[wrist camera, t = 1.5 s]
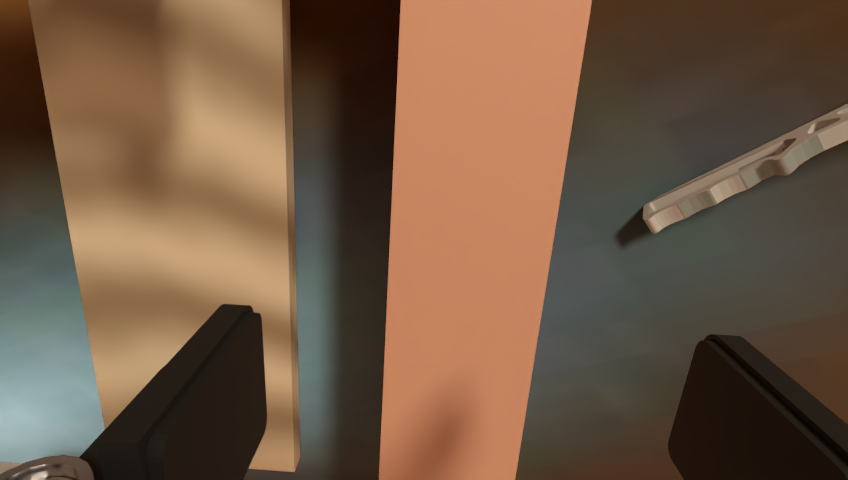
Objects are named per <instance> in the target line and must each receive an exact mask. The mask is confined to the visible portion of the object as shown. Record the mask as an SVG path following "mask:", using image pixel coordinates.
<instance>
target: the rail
mask: <svg viewBox="0 0 848 480" xmlns="http://www.w3.org/2000/svg"><path fill="white" fill-rule="evenodd" d="M591 3H592V0H401V7H400V29H399V51H398V72H397V94H396V116H395V138H394V160H393V182H392V204H391V226H390V247H389V269H388V291H387V313H386V335H385V357H384V379H383V401H382V422H381V444H380V466H379V480H515V476H516V470H517V464H518V458H519V451H520V445H521V439H522V433H523V426H524V420H525V414H526V408H527V402H528V395H529V389H530V383H531V377H532V370H533V364H534V358H535V352H536V345H537V339H538V333H539V327H540V321H541V314H542V308H543V302H544V296H545V289H546V283H547V277H548V271H549V265H550V258H551V252H552V246H553V240H554V233H555V227H556V221H557V215H558V209H559V202H560V196H561V190H562V184H563V177H564V171H565V165H566V159H567V153H568V146H569V140H570V134H571V128H572V121H573V115H574V109H575V103H576V97H577V90H578V84H579V78H580V72H581V65H582V59H583V53H584V47H585V40H586V34H587V28H588V22H589V16H590V9H591Z"/></svg>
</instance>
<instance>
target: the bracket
mask: <svg viewBox="0 0 848 480" xmlns="http://www.w3.org/2000/svg"><path fill="white" fill-rule="evenodd" d="M847 140H848V104H846V105H844V106H842V107H840V108H838V109H836V110H834V111H832V112H830V113H828V114H826V115H823V116H821V117H819V118H817V119H815V120H813V121H811V122H809V123H807V124H805V125H803V126H801V127H799V128H797V129H795V130H793V131H791V132H789V133H787V134H785V135H783V136H781V137H779V138H777V139H774V140H772V141H770V142H768V143H766V144H764V145H762V146H760V147H758V148H756V149H754V150H752V151H750V152H748V153H746V154H744V155H742V156H740V157H738V158H736V159H734V160H732V161H730V162H727V163H725V164H723V165H721V166H719V167H717V168H715V169H713V170H711V171H709V172H707V173H705V174H703V175H701V176H699V177H697V178H695V179H693V180H691V181H689V182H687V183H685V184H683V185H680V186H678V187H676V188H674V189H672V190H670V191H668V192H666V193H664V194H662V195H660V196H659V197H657V198H655V199H654V200H652V201H651V202H649V203H647V204H646V205H644V209H643V219H644V221H645V223H646V224H647V226H648V228H649V229H650V231H651V232H652V233H658V232H659V231H660V230H662V229H663V228H664V227H666V226H668V225H670V224H672V223H674V222H677V221H680V220H683V219H686V218H687V217H689V216H691V215H692V214H694V213H696V212H698V211H700V210H702V209H705V208H707V207H710V206H713V205H716V204H718V203H719V202H721V201H722V200H724V199H726V198H728V197H730V196H732V195H734V194H736V193H739V192H742V191H744V190H747V189H749V188H751V187H753V186H754V185H756V184H757V183H759V182H760V181H762V180H764V179H766V178H768V177H771V176H774V175H781V176H786V175H789V174H791V173H792V172H793V171H794V170H795V169H796V168H797V167H798V166H799V165H801V164H802V163H804V162H805V161H806V160H808V159H810V158H811V157H813V156H815V155H817V154H819V153H821V152H823V151H825V150H827V149H829V148H831V147H834V146H836V145H838V144H840V143H843V142H845V141H847Z"/></svg>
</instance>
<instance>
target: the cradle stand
mask: <svg viewBox="0 0 848 480" xmlns="http://www.w3.org/2000/svg"><path fill="white" fill-rule="evenodd" d="M28 3H29V9H30V14H31V20H32V25H33V31H34V36H35V42H36V48H37V53H38V59H39V64H40V70H41V75H42V81H43V86H44V92H45V98H46V103H47V109H48V114H49V120H50V125H51V131H52V136H53V142H54V148H55V153H56V159H57V164H58V170H59V175H60V181H61V187H62V192H63V198H64V203H65V209H66V214H67V220H68V225H69V231H70V237H71V242H72V248H73V253H74V259H75V264H76V270H77V275H78V281H79V287H80V292H81V298H82V303H83V309H84V314H85V320H86V325H87V331H88V337H89V342H90V348H91V353H92V359H93V364H94V370H95V376H96V381H97V387H98V392H99V398H100V403H101V409H102V414H103V420H104V426H105V429H106V428H107V427H108V426H109V425H110V424H111V423H112V422H113V420H114V419H115V418H116V417H117V416H118V415H119V414H120V413H121V412H122V411H123V410H124V409H125V407H126V406H127V405H128V404H129V403H130V402H131V401H132V400H133V399H134V398H135V397H136V396H137V394H138V393H139V392H140V391H141V390H142V389H143V388H144V387H145V386H146V385H147V384H148V383H149V381H150V380H151V379H152V378H153V377H154V376H155V375H156V374H157V373H158V372H159V371H160V370H161V369H162V368H163V367H164V366H165V365H166V364H167V363H168V362H169V361H170V360H171V359H172V358H173V357H174V356H175V354H176V353H177V352H178V351H179V350H180V349H181V348H182V347H183V346H184V345H185V344H186V342H187V341H188V340H189V339H190V338H191V337H192V336H193V335H194V334H195V333H196V332H197V330H198V329H199V328H200V327H201V326H202V325H203V324H204V323H205V322H206V321H207V320H208V318H209V317H210V316H211V315H212V314H213V313H214V312H215V311H216V310H217V309H218V308H219V307H220V306H221V305H222V304H234V305H250V306H251V307H252V308H253V311H254V313H260V314H261V317H262V332H263V350H264V368H265V386H266V405H267V424H266V429H265V433H264V436H263V438H262V440H261V442H260V444H259V446H258V449H257V451H256V453H255V455H254V457H253V459H252V462H251V464H250V466H249V468H248V469H259V470H273V471H287V472H295V469H296V467H297V464H298V461H299V459H300V429H299V384H298V340H297V296H296V252H295V207H294V163H293V119H292V74H291V30H290V0H28ZM21 464H22V463H8V462H0V474H2V473H3V472H5V471H7V470H9V469H12V468H14V467H16V466H19V465H21Z"/></svg>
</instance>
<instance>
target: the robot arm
mask: <svg viewBox="0 0 848 480" xmlns="http://www.w3.org/2000/svg"><path fill="white" fill-rule="evenodd" d="M266 424H267V405H266V386H265V368H264V350H263V332H262V317H261V314H260V313H254V311H253V308H252V307H251V306H250V305H234V304H222V305H221V306H220V307H219V308H218V309H217V310H216V311H215V312H214V313H213V314H212V315H211V316H210V317H209V318H208V320H207V321H206V322H205V323H204V324H203V325H202V326H201V327H200V328H199V329H198V330H197V332H196V333H195V334H194V335H193V336H192V337H191V338H190V339H189V340H188V341H187V342H186V344H185V345H184V346H183V347H182V348H181V349H180V350H179V351H178V352H177V353H176V354H175V356H174V357H173V358H172V359H171V360H170V361H169V362H168V363H167V364H166V365H165V366H164V367H163V368H162V369H161V370H160V371H159V372H158V373H157V374H156V375H155V376H154V377H153V378H152V379H151V380H150V381H149V383H148V384H147V385H146V386H145V387H144V388H143V389H142V390H141V391H140V392H139V393H138V394H137V396H136V397H135V398H134V399H133V400H132V401H131V402H130V403H129V404H128V405H127V406H126V407H125V409H124V410H123V411H122V412H121V413H120V414H119V415H118V416H117V417H116V418H115V419H114V420H113V422H112V423H111V424H110V425H109V426H108V427H107V428H106V429H105V430H104V431H103V432H102V433H101V435H100V436H99V437H98V438H97V439H96V440H95V441H94V442H93V443H92V444H91V445H90V446H89V448H88V449H87V450H86V451H85V452H84V453H83V454H82V455H81V456H80V457H79V458H78V457H73V456H66V455H60V456H50V457H44V458H40V459H36V460H33V461H29V462H26V463H23V464H21V465H19V466H16V467H14V468H12V469H9V470H7V471H5V472H3V473H2V474H0V480H243V479H244V477H245V474H246V472H247V470H248V468H249V466H250V464H251V462H252V459H253V457H254V455H255V453H256V451H257V449H258V446H259V444H260V442H261V440H262V438H263V436H264V433H265V429H266ZM668 449H669V454H670V457H671V459H672V461H673V463H674V464H675V466H676V467H677V469H678V471H679V472H680V474H681V475H682V477H683V478H684V480H848V425H847V424H846V423H845V422H844V421H842V420H841V419H840V418H839V417H838V416H836V415H835V414H834V413H833V412H832V411H830V410H829V409H828V408H827V407H826V406H824V405H823V404H822V403H821V402H820V401H818V400H817V399H816V398H815V397H814V396H812V395H811V394H810V393H809V392H808V391H806V390H805V389H804V388H803V387H802V386H800V385H799V384H798V383H797V382H795V381H794V380H793V379H792V378H791V377H789V376H788V375H787V374H786V373H785V372H783V371H782V370H781V369H780V368H779V367H777V366H776V365H775V364H774V363H773V362H771V361H770V360H769V359H768V358H767V357H765V356H764V355H763V354H762V353H761V352H759V351H758V350H757V349H756V348H755V347H753V346H752V345H751V344H750V343H749V342H747V341H746V340H745V339H744V338H742V337H740V336H730V335H714V334H711V335H708V336H707V337H706V338H705V339H704V341H700V342H699V343H698V344H697V346H696V348H695V352H694V355H693V359H692V362H691V366H690V369H689V372H688V376H687V379H686V383H685V386H684V390H683V393H682V396H681V400H680V403H679V407H678V410H677V414H676V417H675V420H674V424H673V427H672V431H671V434H670V438H669V442H668Z"/></svg>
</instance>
